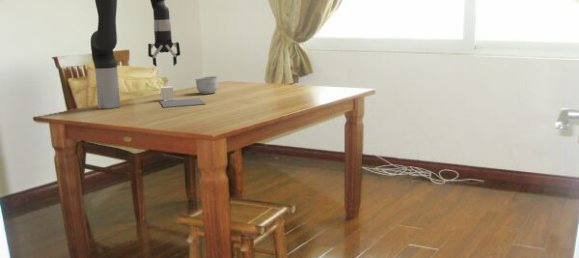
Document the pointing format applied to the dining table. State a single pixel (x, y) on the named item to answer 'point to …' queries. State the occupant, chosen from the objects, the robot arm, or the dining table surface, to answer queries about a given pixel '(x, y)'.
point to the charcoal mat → (182, 102)
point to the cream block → (167, 93)
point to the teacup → (207, 84)
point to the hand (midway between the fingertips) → (165, 65)
